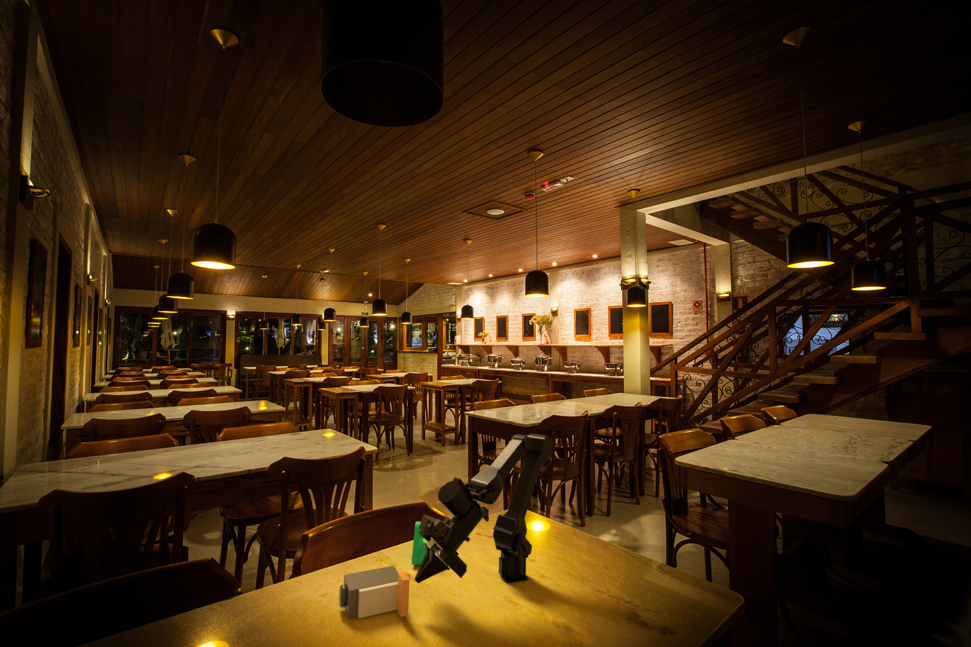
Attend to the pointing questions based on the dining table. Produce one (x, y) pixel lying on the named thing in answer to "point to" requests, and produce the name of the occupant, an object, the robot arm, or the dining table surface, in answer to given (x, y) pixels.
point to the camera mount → (418, 546)
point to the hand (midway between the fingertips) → (416, 581)
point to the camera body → (363, 586)
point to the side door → (385, 598)
